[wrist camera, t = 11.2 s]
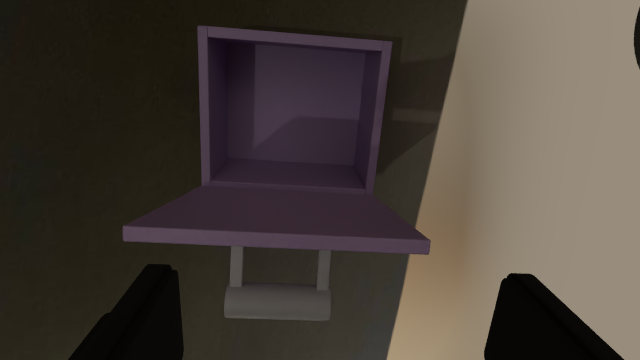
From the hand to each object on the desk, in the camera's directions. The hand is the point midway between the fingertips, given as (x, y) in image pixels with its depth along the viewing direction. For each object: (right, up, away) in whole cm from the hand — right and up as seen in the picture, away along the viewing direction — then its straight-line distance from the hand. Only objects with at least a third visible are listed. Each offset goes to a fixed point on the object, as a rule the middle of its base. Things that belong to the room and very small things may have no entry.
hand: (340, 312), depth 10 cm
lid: (-3, +2, +15) cm, 16 cm away
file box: (-3, +12, +29) cm, 31 cm away
